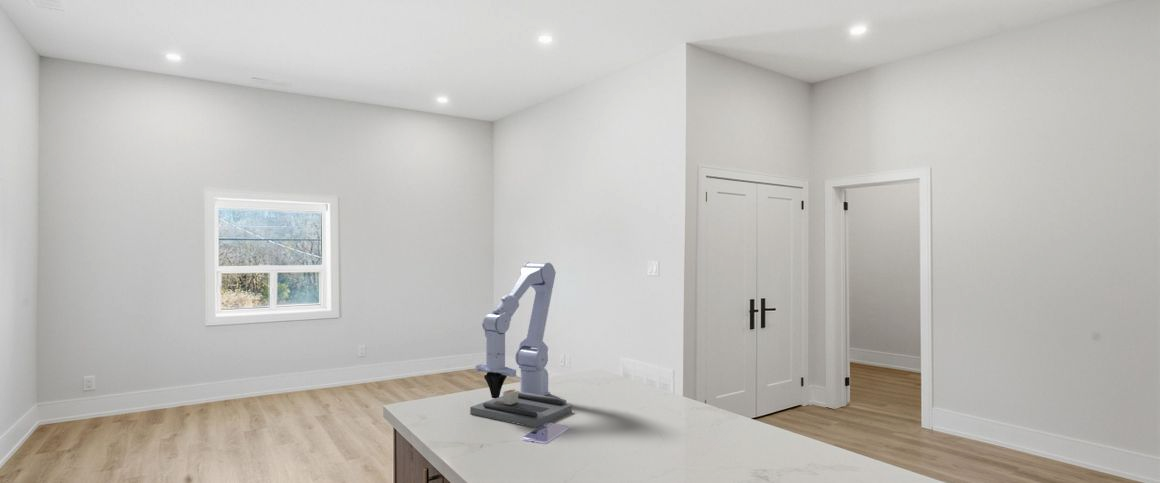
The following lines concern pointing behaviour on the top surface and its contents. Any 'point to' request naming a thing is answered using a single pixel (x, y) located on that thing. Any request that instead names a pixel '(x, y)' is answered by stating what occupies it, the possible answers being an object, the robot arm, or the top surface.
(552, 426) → the mobile phone
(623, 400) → the top surface
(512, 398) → the white orange striped block
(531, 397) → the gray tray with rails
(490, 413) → the panel
